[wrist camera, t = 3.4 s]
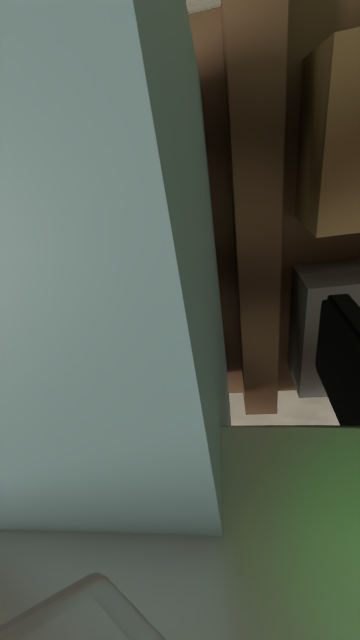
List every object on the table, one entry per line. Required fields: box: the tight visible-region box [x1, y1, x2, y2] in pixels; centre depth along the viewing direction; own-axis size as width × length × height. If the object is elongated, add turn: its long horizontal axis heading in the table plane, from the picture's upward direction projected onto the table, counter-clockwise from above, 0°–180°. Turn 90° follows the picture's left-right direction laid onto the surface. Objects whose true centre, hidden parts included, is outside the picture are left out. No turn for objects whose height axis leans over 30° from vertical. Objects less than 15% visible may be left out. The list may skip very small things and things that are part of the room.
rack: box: [188, 0, 360, 415], centre depth 15 cm, size 20×16×3 cm
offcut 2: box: [287, 257, 360, 398], centre depth 16 cm, size 7×4×3 cm, turn 9°
